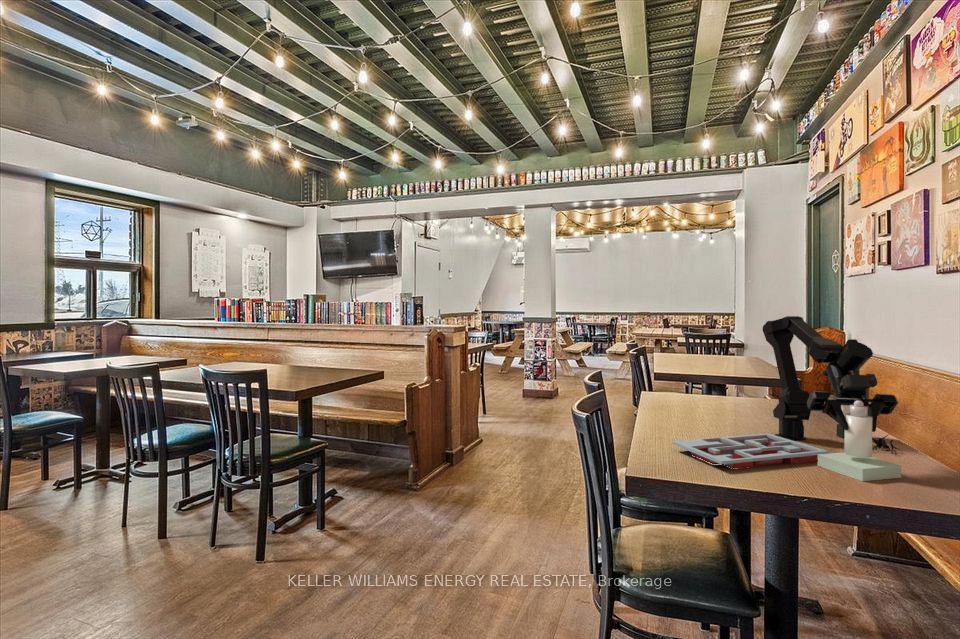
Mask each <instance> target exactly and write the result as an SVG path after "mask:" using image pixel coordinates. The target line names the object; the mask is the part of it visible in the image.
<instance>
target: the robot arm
mask: <svg viewBox="0 0 960 639" xmlns="http://www.w3.org/2000/svg"><path fill="white" fill-rule="evenodd" d="M762 333H763V335H764V339H765V341H766V342H767V343H768V344H769V345H770V346H771V347H772V348H773V353H774V358H775V363H776V367H777V371H778V376H779V381H780V386H781V392H780V394H779V395H778V397H777V398H778V404H776V406H775V408H773V410H772V414H773V418H775V419H778V433H774V435H775V436H779V437H782V438H786V439H789V440H792V441H800V440H808V437H806V436H805V425H804V421H809V419H810V416H811V414H812V411H814V412H815V411H816V412H821V413H822V414H825V415H827V416H829V417H830V419H833V420H834V421H835V422H836V424H837V423H838V424H839V425H840V426H842V427H843V428H844V429H845V430H848V424H847V421H846V419H845V416H844V414H843V411H842V409H841V406H850V405H854V402H855V401H857V400H859V401H862V402H863V404H864V406H867V407H868V416H871V417H873V421H872V433H875V432H876V430H877V423H878V416H879V415H886V416H887V415H890V414H892V413H893V411H894V410H895V408H896V407H897V405H898V404H899V400H898V398H897V396H896V395H895V394H891V393H885V394H884V393H875V394H874V395H873V398H869V399H864V398H863V397H862V396H863V395H865V394H866V391H865V390H866V389H867V388H869V389H870V388H875V387H876V386H877V385H878V380H877V376H876V374H875V373H865V374H860V375H854V374H853V371H857V370H859V369H861V368H863V366H864V365H865V364H866V363H867V362H868V361H869V360H870V359H871V358H872V357H873V355H874V352H873V349H871V347H869V346H867V345H866V344H864V343H862V342H859V341H858V339H852V338H851V339H850V338H848V339H847V341H846V342H845V344H844V345H842V344H841V343H840V342H837V341H835V340H833V339H831V338H830V339H829V338H826V337H824V336H823V335H821V334H820V332H818V331H816V329H814V328H813V327H812V326H811V325H809V324H808V323H807V322H806V321H804V318H803V317H802V316H800V315H798V316H797V315H794V316H793V315H791V316H789V315H787V316H784V317H781V318H778V319H775V320H767V321H766V322H765V324H763V325H762ZM794 336H795V337H796V338H797V339H798V340H799V341H800V342H802V343H803V344H804V345H805V346H806V347H807V348H808V355H809V356H810V357H811V359H812V360H813V361H814V362H815V363H816V364H827V366H826V367H825V369H824V371H823V372H822V376H823V377H828V380H829V382H830V385H831V387H830V391H824V390H822V391H820V390H812V391H811V393H809V392H808V391H807V390H803V389H802V388H801V386H800V382H799V378H798V373H797V369H796V365H795V360H794V357H793V356H794V355H793V352H792V348H791V344H792V341H793V339H794ZM830 393H833V394H830Z"/></svg>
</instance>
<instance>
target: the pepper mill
mask: <svg viewBox="0 0 960 639" xmlns="http://www.w3.org/2000/svg"><path fill="white" fill-rule="evenodd" d="M845 419H846V421H847V424H848V430H844V438H843V439H844V441H843V442H844V443H843V452H844V453H845V454H847V455H850V456H854V457H860V458H871V457H873V450H872V449H873V440H872V437H873V432H872V421H873V417H871V416H868V407H867V406H864V404H863V402H862V401H859V400H857V401H855V402H854V405H850V413H849V414H845Z"/></svg>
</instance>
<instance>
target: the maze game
mask: <svg viewBox="0 0 960 639" xmlns="http://www.w3.org/2000/svg"><path fill="white" fill-rule="evenodd" d="M671 444H672V445H673V446H677V447H678V448H681V449H683V450H685V451H689V452H690V456H691V455H693V456H695V457H698V458H701V459H703V460H705V461H707V462H710V463H712V464H725V465H724V467H725V466H728V467H730V468H732V469H733V468H745V469H748V468H747V467H753V468H754V467H757V466H756V465H760V466H767V465H766V464H769V465H777V463H778V464H783V462H785V463H788V464H791V463H792V464H799V463H800V462H801V463H809V461H811V462H818V461H817V460H818V454H829V450H826V449H822V448H819V447H816V446H812V445H809V444H807V443H806V444H805V443H802V442H800V441H797V440H789V439H786V438H782V437H779V436H775V434H772V433H769V432H768V433H756V434H746V435H745V434H744V435H733V436H732V435H731V436H721V437H708V438H696V439H684V440H672V442H671ZM775 463H776V464H775ZM801 463H800V464H801ZM753 465H755V466H753ZM732 469H731V470H732Z"/></svg>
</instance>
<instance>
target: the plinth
mask: <svg viewBox="0 0 960 639" xmlns="http://www.w3.org/2000/svg"><path fill="white" fill-rule="evenodd" d="M820 466H821V468H823V469H826V470H829V471H832V472H835V473H838V474H840V475H843V476H846V477H849V478H851V479H852V478H853V479H855V480H857V481H860V482H869V481H878V480H889V479H890V480H891V479H900V478H902V465H901V464H897V463H894V462H891V461H887V460H884V459H881V458H878V457H873V456H872V457H871V458H860V457H854V456H850V455H847V454H845V453H844V451H843V452H832V453H828V454H818V461H817V467H820Z"/></svg>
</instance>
